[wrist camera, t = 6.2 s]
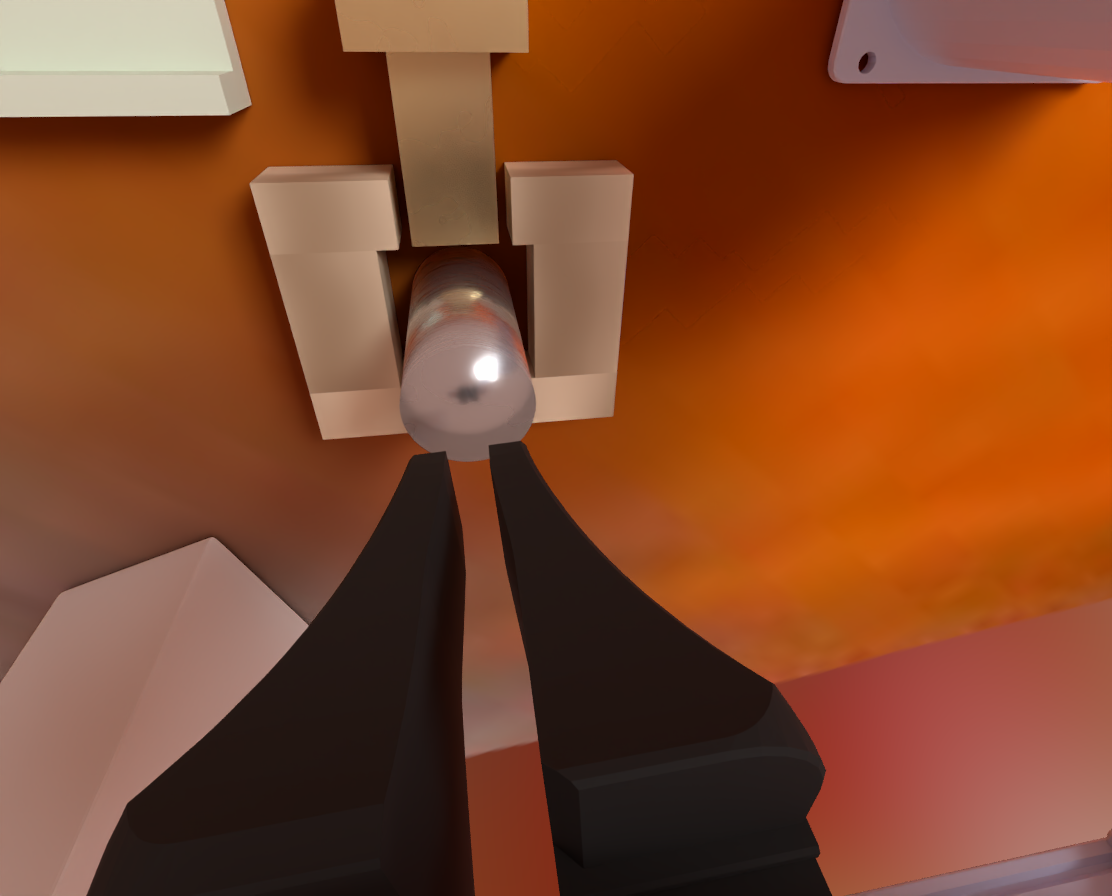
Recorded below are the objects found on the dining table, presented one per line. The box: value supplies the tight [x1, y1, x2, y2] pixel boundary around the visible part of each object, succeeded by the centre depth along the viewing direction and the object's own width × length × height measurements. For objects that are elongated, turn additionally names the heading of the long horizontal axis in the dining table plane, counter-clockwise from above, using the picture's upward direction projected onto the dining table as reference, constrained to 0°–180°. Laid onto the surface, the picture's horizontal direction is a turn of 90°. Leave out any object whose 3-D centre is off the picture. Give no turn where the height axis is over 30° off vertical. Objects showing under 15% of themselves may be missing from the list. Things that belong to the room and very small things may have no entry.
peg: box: [399, 246, 536, 462], centre depth 16 cm, size 3×3×7 cm
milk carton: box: [0, 537, 308, 896], centre depth 18 cm, size 7×7×19 cm
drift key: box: [335, 0, 529, 247], centre depth 15 cm, size 4×6×3 cm, turn 179°
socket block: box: [250, 160, 634, 440], centre depth 18 cm, size 10×8×2 cm
